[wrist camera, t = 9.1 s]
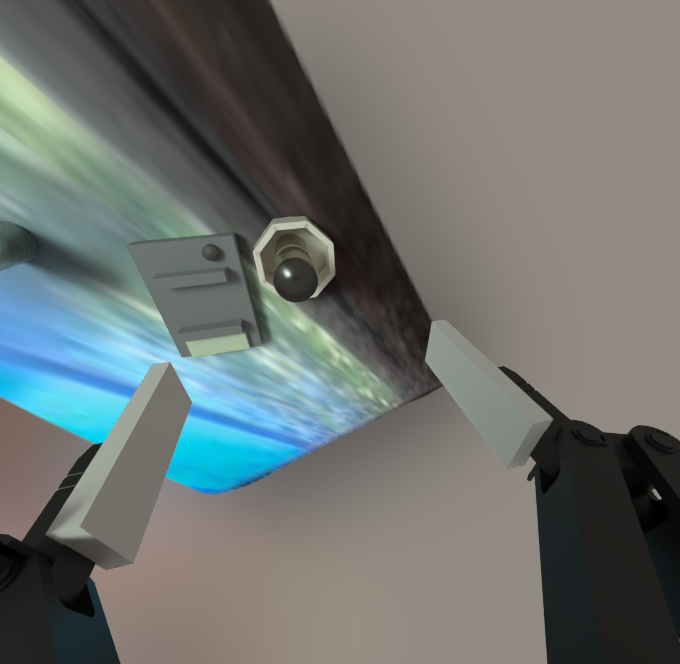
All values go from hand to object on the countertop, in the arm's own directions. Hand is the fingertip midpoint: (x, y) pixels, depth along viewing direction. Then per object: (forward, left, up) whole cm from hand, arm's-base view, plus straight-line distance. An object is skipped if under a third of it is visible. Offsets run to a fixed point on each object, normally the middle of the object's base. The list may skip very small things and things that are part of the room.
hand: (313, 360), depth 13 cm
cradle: (+4, -11, -20) cm, 23 cm away
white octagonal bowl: (0, 0, -20) cm, 20 cm away
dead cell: (-1, 0, -20) cm, 20 cm away
